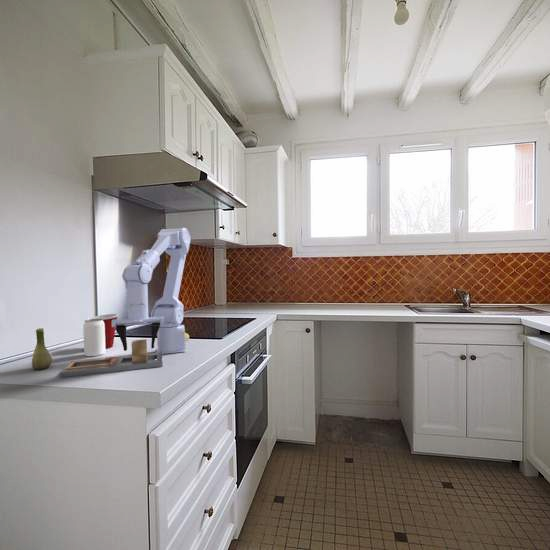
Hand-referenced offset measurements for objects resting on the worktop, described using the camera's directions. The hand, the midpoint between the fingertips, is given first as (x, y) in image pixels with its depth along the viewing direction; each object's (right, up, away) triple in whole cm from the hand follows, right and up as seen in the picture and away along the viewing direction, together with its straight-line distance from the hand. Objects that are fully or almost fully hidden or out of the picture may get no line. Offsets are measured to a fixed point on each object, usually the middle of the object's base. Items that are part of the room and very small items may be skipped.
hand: (139, 348), depth 102 cm
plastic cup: (-23, -5, +24) cm, 34 cm away
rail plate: (-6, -5, -2) cm, 8 cm away
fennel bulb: (-28, -6, -2) cm, 29 cm away
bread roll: (+2, -4, +34) cm, 34 cm away
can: (-21, -5, +13) cm, 25 cm away
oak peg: (0, -5, 0) cm, 5 cm away
